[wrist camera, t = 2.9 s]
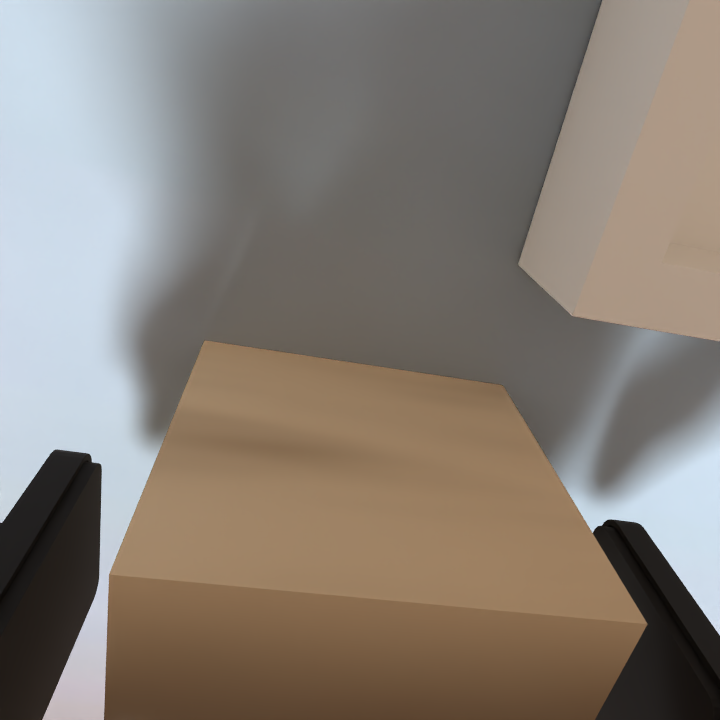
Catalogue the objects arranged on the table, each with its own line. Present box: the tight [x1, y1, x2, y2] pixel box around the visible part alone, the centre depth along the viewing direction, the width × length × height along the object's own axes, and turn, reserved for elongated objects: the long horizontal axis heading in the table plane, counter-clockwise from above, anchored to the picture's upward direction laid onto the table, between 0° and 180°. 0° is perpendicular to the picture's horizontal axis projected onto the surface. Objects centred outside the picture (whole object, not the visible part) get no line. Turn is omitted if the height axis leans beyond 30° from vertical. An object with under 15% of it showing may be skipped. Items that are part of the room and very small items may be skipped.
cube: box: [104, 340, 647, 720], centre depth 10 cm, size 6×6×6 cm
